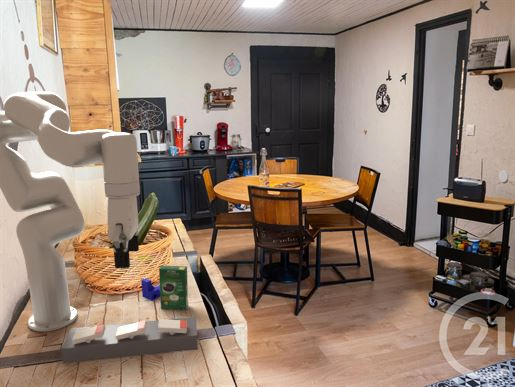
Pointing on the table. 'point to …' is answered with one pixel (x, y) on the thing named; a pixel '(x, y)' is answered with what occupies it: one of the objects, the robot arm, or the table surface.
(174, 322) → the rocker
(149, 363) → the table surface
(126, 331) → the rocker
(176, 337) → the rocker switch panel
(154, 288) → the blue piece
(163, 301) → the coffee box
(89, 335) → the rocker
